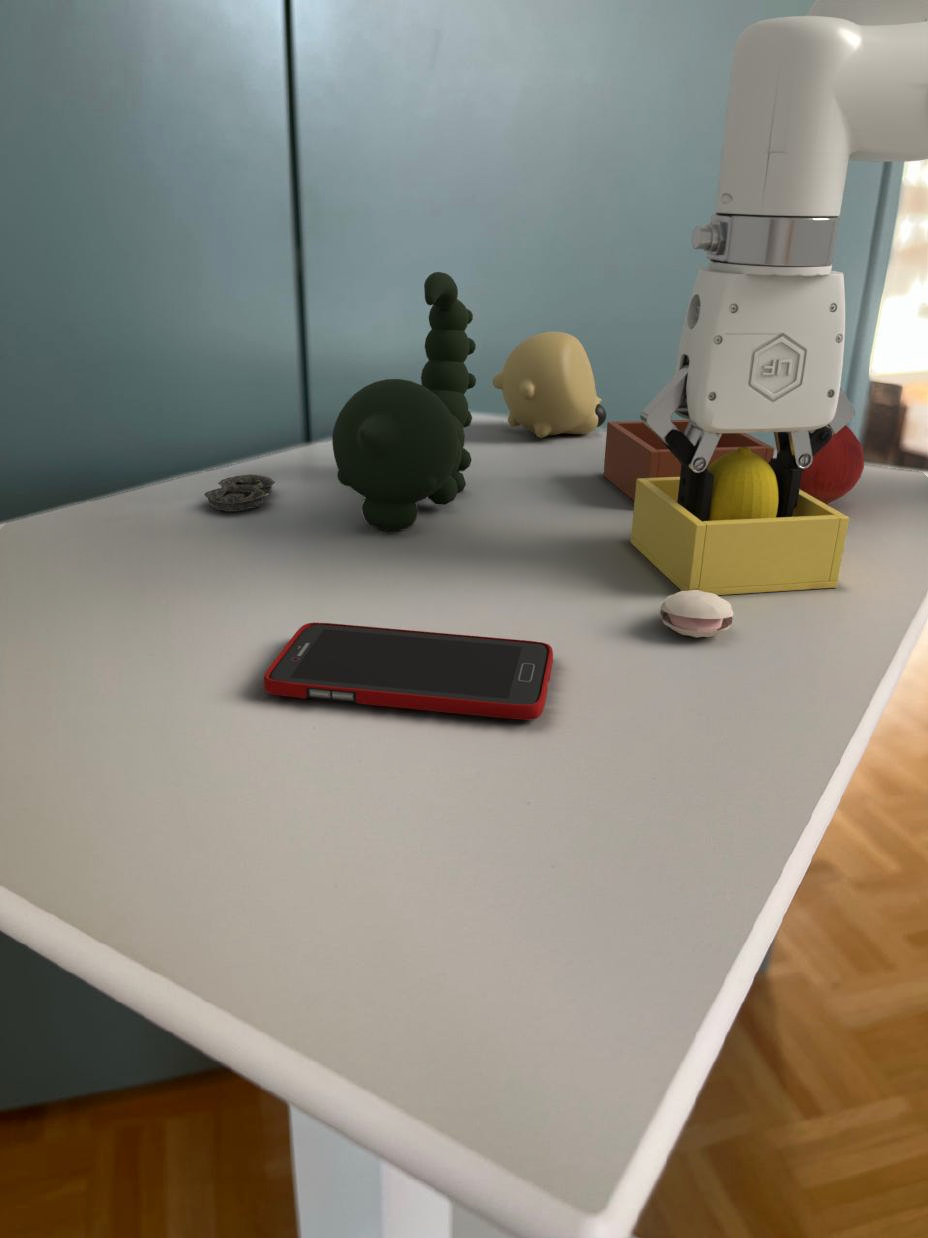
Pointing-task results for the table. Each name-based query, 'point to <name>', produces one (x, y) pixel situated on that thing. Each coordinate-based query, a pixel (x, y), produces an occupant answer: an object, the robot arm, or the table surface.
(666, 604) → the macaroon
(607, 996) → the table surface
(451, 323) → the toy figurine
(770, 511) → the lemon
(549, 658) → the cell phone
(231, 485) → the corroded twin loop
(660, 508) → the yellow bin
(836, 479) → the onion
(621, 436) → the brown bin
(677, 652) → the table surface
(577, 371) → the toy pig
